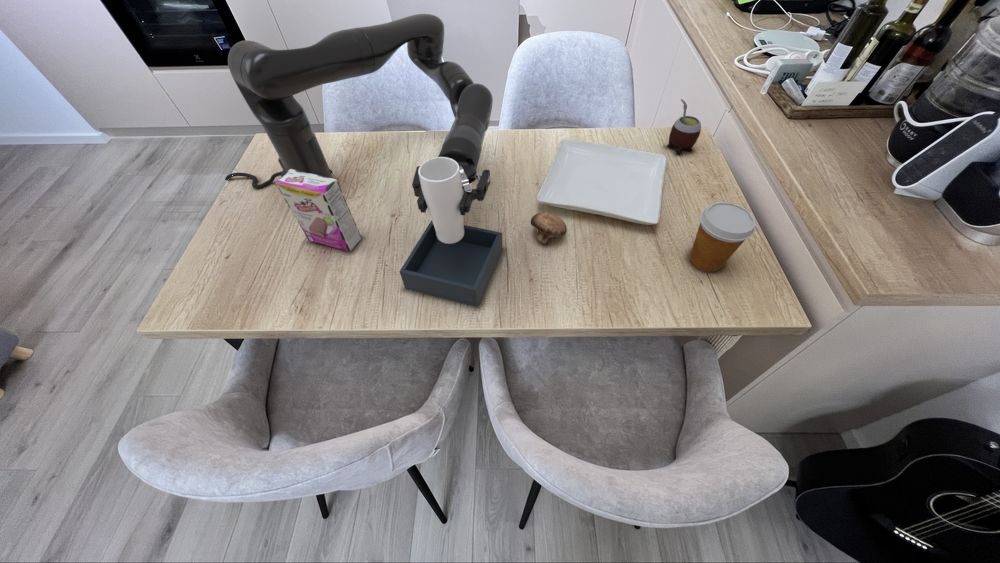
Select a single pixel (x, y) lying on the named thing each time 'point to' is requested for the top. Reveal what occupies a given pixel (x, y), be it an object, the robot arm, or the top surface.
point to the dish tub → (453, 265)
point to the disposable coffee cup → (720, 234)
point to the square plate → (605, 181)
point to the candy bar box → (320, 209)
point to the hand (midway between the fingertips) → (441, 210)
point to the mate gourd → (684, 132)
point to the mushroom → (548, 226)
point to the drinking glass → (443, 197)
